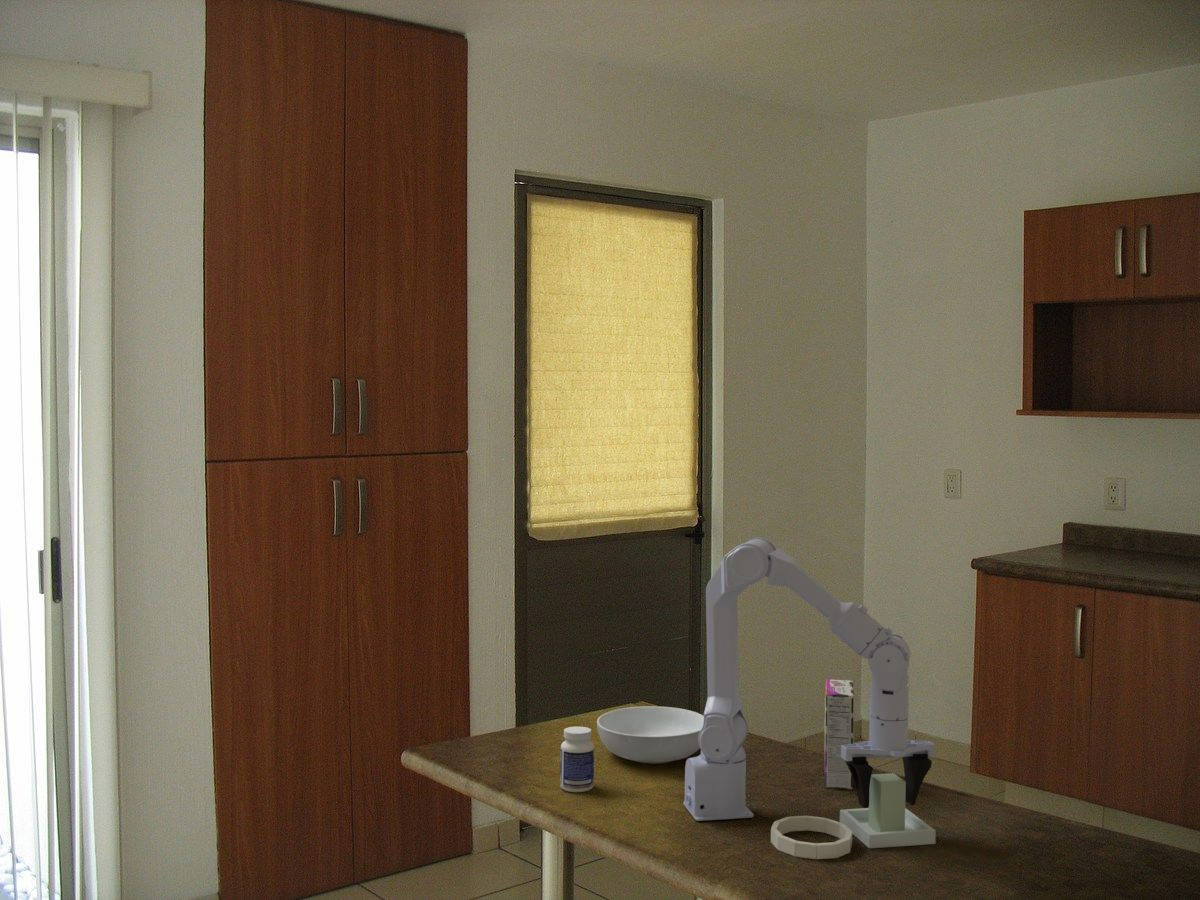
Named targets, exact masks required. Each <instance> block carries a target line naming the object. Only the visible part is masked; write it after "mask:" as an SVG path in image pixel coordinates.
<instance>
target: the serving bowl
mask: <svg viewBox="0 0 1200 900" xmlns="http://www.w3.org/2000/svg"><path fill="white" fill-rule="evenodd" d="M703 723H704V714H700V713H699V712H697V711H693V710H689V709H684V708H680V707H679V708H678V707H672V706H670V707H669V706H655V705H653V706H652V705H650V706H649V705H647V706H646V705H645V706H644V705H643V706H630V707H623V708H619V709H614V710H613V709H612V710H611V711H607V712H605V713H603V714H601V715H600V716H598V718H597V720H596V726H597V733H598V736H599V739H600V740H601V743H602V744H603V746H605V748H606V749H607V750H608V751H610V752H611V753H613V754H614V755H616V756H617V757H620V758H623V759H626V760H630V761H634V762H638V763H642V764H658V765H659V764H666V763H670V762H675V761H679V760H682V759H685V758H688V757H690V756H691V755H694V754H695V753H696V752H698V750H701V749H700V747H699V743H698V736H699V732H700V730H701V729H702V726H703Z"/></svg>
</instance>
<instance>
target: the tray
mask: <svg viewBox="0 0 1200 900" xmlns="http://www.w3.org/2000/svg"><path fill="white" fill-rule="evenodd" d="M868 818H869V807H868V808H863V807H862V808H861V807H860V808H847V809H844V808H843V809H840V810H839V822H840V823H843V824H844V825H846V826H847V827H848V828H849V829H850V830H851V831H852V836H853V835H854V837H856V838H857V839H858V840H859V841H860V842H861V843H863V845H864V846H866V847H867V848H868V849H880V848H882V849H883V848H893V847H894V848H895V847H896V848H898V847H907V846H908V847H909V846H922V845H936V836H937V835H936V834H937V833H936V829H934V828H933V827H931V825H929V824H928V823H926V822H925V821H924V820H922V819H921V818H919V817H918V816H917V815H916V814H914V813H913V812H912V811H910V810H909V809H907V808H906V807H905V830H904V831H889V832H875V831H874V830H873V829H871V828H870V827H869V826H868Z"/></svg>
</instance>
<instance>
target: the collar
mask: <svg viewBox="0 0 1200 900" xmlns="http://www.w3.org/2000/svg"><path fill="white" fill-rule="evenodd" d="M801 831H802V832H803V831H811V832H817V833H825V834H828V835H830V836H834V837H836V838H838V839H837V840H836V841H832V842H820V843H819V842H807V841H803V840H802V841H800V840H796V839H793V838H791V837H788V836H787V835H786V836H785V834H787V833H790V832H801ZM770 843H771V844H772V845H773V846H774V847H775V848H776V849H777V850H778V851H780V852H783V853H785V854H788V855H790V856H793V857H796V858H804V859H811V860H827V859H838V858H840V857H842V856H843V857H844V856H845V855H846V854H847V855H848V854H850V853H851V851H852V850H851V849H852V846H853V834H852V831H851V830H850V829H849V828H848V827H847V826H846V825H844V824H843V823H840V821H836V820H834V819H831V818H827V817H823V816H821V817H820V816H812V815H793V816H786V817H782V818H781V819H780V818H779V819H777V820H775V821H774V822H773V823H772V825H771V828H770Z"/></svg>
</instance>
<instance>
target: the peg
mask: <svg viewBox="0 0 1200 900" xmlns="http://www.w3.org/2000/svg"><path fill="white" fill-rule="evenodd" d="M905 793H906V781H905V779H903V778H901V777H900V776H898V775H897V774H895V773H894V772H891V773H888V772H887V773H872V775H871V780H870V787H869V807H868V808H869V818H868V826H869V827H870V828H871V829H873V830H874V831H875V832H889V831H904V830H905V808H906V801H905Z"/></svg>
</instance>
